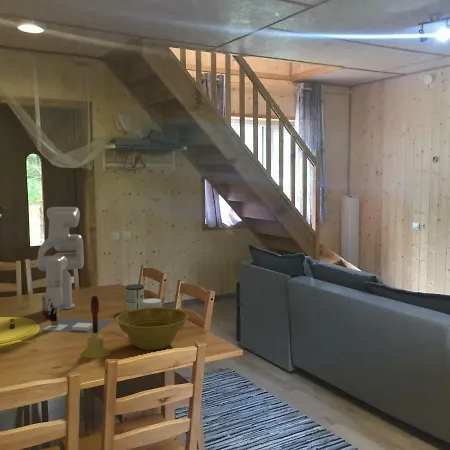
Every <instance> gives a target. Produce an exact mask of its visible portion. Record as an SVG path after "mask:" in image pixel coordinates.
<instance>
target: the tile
mask: <svg viewBox="0 0 450 450" xmlns="http://www.w3.org/2000/svg"><path fill="white" fill-rule="evenodd" d="M92 328H93V323H77V324H75V325H74V326H72V331H87V332H88V331H89V330H90V329H92Z"/></svg>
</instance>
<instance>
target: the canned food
mask: <svg viewBox="0 0 450 450" xmlns="http://www.w3.org/2000/svg"><path fill="white" fill-rule="evenodd" d="M45 298H46V294H45V295H42V297H41V301H42V303H41V304H42V306H41V307H42V319H45V320H50V313H49V311H48V310H47V308H48V307H46V306H45Z"/></svg>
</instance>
